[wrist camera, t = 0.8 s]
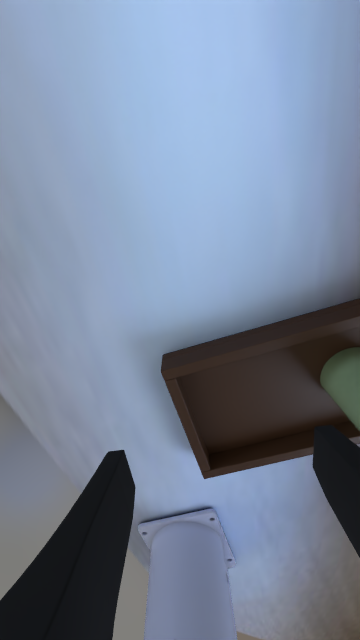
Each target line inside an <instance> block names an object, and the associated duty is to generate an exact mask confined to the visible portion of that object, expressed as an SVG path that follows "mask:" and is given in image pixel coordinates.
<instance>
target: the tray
mask: <svg viewBox="0 0 360 640" xmlns="http://www.w3.org/2000/svg"><path fill="white" fill-rule="evenodd" d="M352 347H360V299H356V300H353V301H349V302H346V303H342V304H339V305H335V306H332V307H328V308H325V309H321V310H318V311H314V312H311V313H307V314H304V315H300V316H297V317H293V318H290V319H286V320H283V321H279V322H276V323H272V324H269V325H265V326H262V327H258V328H255V329H252V330H248V331H245V332H241V333H238V334H234V335H231V336H227V337H224V338H220V339H217V340H213V341H210V342H206V343H203V344H199V345H196V346H192V347H189V348H185V349H182V350H178V351H175V352H171V353H168V354H164V355H163V357H162V366H161V373H162V376H163V378H164V380H165V383H166V386H167V388H168V391H169V393H170V395H171V398H172V400H173V403H174V405H175V408H176V410H177V413H178V415H179V418H180V420H181V423H182V425H183V428H184V430H185V433H186V435H187V438H188V440H189V443H190V445H191V448H192V450H193V453H194V455H195V458H196V460H197V462H198V465H199V467H200V470H201V473H202V475H203V478H204V479H207V478H211V477H216V476H220V475H224V474H229V473H233V472H237V471H242V470H246V469H251V468H255V467H259V466H264V465H268V464H272V463H277V462H281V461H286V460H290V459H294V458H299V457H303V456H307V455H312V454H313V450H314V427H317V426H326V425H332V426H333V427H335V428H336V429H337V430H339V431H340V432H341V433H342V434H344V435H345V436H346V437H347V438H348V439H350V440H351V441H352V442H353V443H355V444H360V432H359V431H358V430H357V429H356V427H355V426H354V425H353V424H352V423H351V422H350V420H349V419H348V418H347V417H346V416H345V414H344V413H343V412H342V411H341V410H340V409H339V407H338V406H337V405H336V404H335V403H334V401H333V400H332V399H331V398H330V397H329V396H328V394H327V393H326V392H325V391H324V389H323V388H322V386H321V382H320V375H321V371H322V369H323V367H324V365H325V363H326V362H327V361H328V360H329V359H330V358H331V357H332V356H333V355H335V354H336V353H338V352H340V351H342V350H344V349H347V348H352Z"/></svg>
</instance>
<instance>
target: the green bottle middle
mask: <svg viewBox="0 0 360 640" xmlns="http://www.w3.org/2000/svg"><path fill="white" fill-rule="evenodd" d="M320 382H321V386H322V388H323V389H324V391H325V392H326V393H327V394H328V396H329V397H330V398H331V399H332V400H333V401H334V403H335V404H336V405H337V406H338V407H339V409H340V410H341V411H342V412H343V413H344V414H345V416H346V417H347V418H348V419H349V420H350V422H351V423H352V424H353V425H354V426H355V427H356V429H357V430H358V431H359V432H360V347H352V348H347V349H344V350H342V351H340V352H338V353H336V354H335V355H333V356H332V357H331V358H330V359H329V360H328V361H327V362H326V363H325V365H324V367H323V369H322V371H321V375H320Z"/></svg>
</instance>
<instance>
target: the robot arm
mask: <svg viewBox="0 0 360 640" xmlns="http://www.w3.org/2000/svg"><path fill="white" fill-rule="evenodd" d="M313 469H314V471H315V473H316V476H317V478H318V480H319V483H320V485H321V487H322V489H323V492H324V494H325V496H326V498H327V500H328V502H329V504H330V506H331V507H332V509H333V511H334V513H335V515H336V516H337V518H338V520H339V522H340V524H341V525H342V527H343V529H344V531H345V532H346V534H347V536H348V538H349V540H350V541H351V543H352V545H353V547H354V548H355V550H356V552H357V554H358V556H359V557H360V447H358V446H357V445H356V444H355V443H353V442H352V441H351V440H350V439H348V438H347V437H346V436H345V435H344V434H342V433H341V432H340V431H339V430H337V429H336V428H335V427H333V426H332V425H326V426H317V427H314V450H313ZM134 498H135V484H134V481H133V478H132V474H131V471H130V468H129V465H128V461H127V458H126V455H125V452H124V450H118V451H110V452H108V453H107V454H106V456H105V457H104V459H103V460H102V462H101V464H100V465H99V467H98V469H97V470H96V472H95V473H94V475H93V477H92V478H91V480H90V481H89V483H88V484H87V486H86V487H85V489H84V491H83V492H82V494H81V495H80V497H79V498H78V500H77V501H76V503H75V504H74V506H73V507H72V509H71V510H70V512H69V513H68V515H67V516H66V517H65V519H64V520H63V521H62V523H61V524H60V526H59V527H58V528H57V530H56V531H55V533H54V534H53V535H52V537H51V538H50V539H49V541H48V542H47V543H46V545H45V546H44V548H43V549H42V550H41V551H40V553H39V554H38V555H37V557H36V558H35V559H34V561H33V562H32V563H31V564H30V565H29V567H28V568H27V569H26V570H25V572H24V573H23V574H22V575H21V577H20V578H19V579H18V580H17V581H16V583H15V584H14V585H13V586H12V588H11V589H10V590H9V591H8V592H7V593H6V594H5V596H4V597H3V598H2V599H1V600H0V640H112V637H113V628H114V620H115V613H116V607H117V600H118V595H119V589H120V583H121V578H122V573H123V567H124V563H125V557H126V552H127V547H128V541H129V536H130V531H131V525H132V519H133V510H134ZM138 531H139V533H140V535H141V536H142V538H143V540H144V542H145V543H146V545H147V547H148V548H149V550H150V552H151V559H150V571H149V583H148V595H147V608H146V619H145V632H144V640H237V633H236V626H235V619H234V612H233V605H232V597H231V590H230V583H229V576H228V569H229V568H234V567H235V566H236V561H235V558H234V556H233V553H232V551H231V548H230V546H229V544H228V541H227V539H226V536H225V534H224V531H223V529H222V526H221V524H220V521H219V519H218V517H217V514H216V512H215V510H213V509H206V510H202V511H197V512H192V513H188V514H183V515H178V516H174V517H169V518H164V519H160V520H155V521H150V522H146V523H141V524H140V525H139V526H138Z"/></svg>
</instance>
